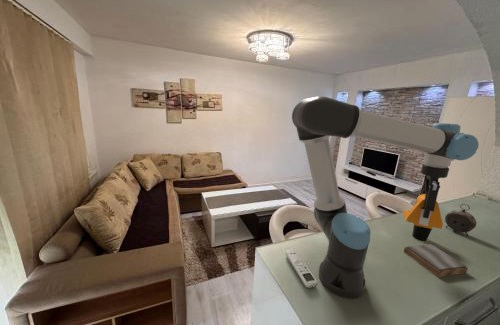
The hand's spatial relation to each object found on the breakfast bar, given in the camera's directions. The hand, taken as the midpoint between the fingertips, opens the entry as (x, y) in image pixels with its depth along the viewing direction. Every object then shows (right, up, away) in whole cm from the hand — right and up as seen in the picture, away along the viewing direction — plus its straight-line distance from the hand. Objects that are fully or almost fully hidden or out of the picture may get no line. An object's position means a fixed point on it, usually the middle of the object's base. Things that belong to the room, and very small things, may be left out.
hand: (421, 219), depth 81 cm
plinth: (+7, -18, +3) cm, 20 cm away
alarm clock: (+40, -14, +26) cm, 50 cm away
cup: (+15, -15, +19) cm, 28 cm away
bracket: (0, -1, 0) cm, 1 cm away
